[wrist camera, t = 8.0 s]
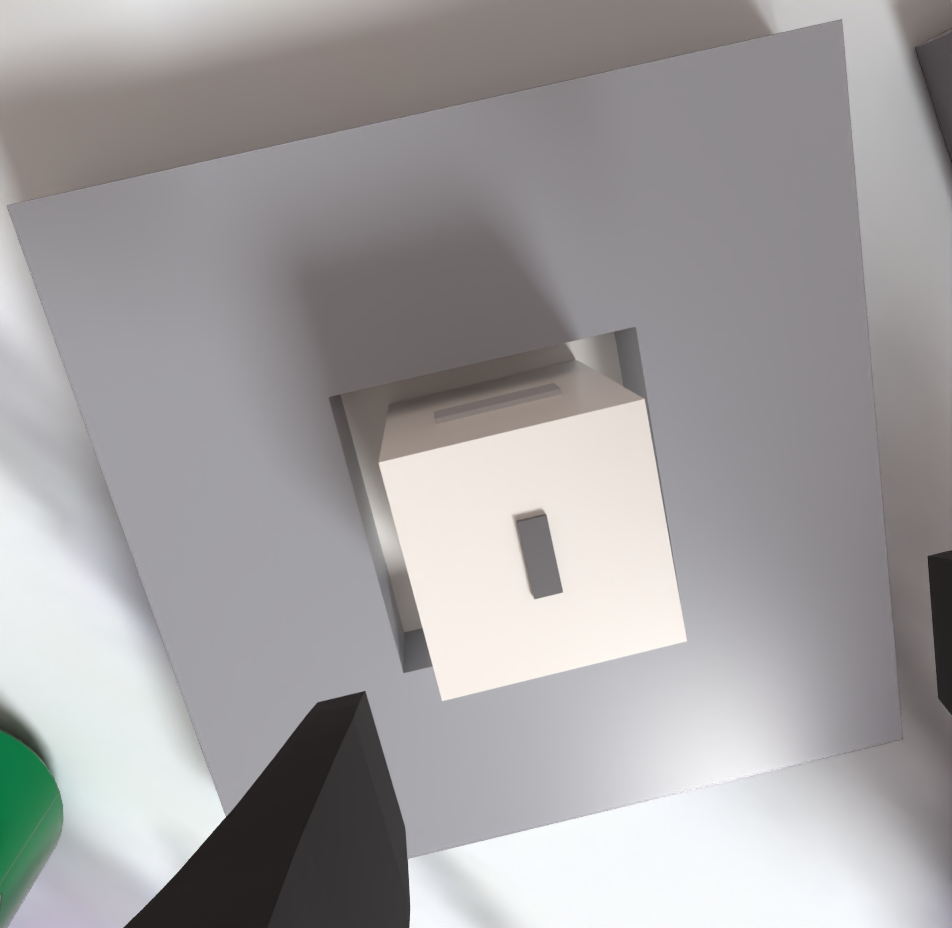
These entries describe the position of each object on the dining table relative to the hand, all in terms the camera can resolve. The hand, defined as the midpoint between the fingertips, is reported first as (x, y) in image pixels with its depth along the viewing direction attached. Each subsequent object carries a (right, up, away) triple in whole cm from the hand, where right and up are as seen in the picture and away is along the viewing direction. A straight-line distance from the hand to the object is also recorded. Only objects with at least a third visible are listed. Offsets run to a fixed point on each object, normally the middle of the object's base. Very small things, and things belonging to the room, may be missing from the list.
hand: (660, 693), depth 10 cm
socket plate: (-2, +2, +9) cm, 10 cm away
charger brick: (-2, +3, +9) cm, 9 cm away
